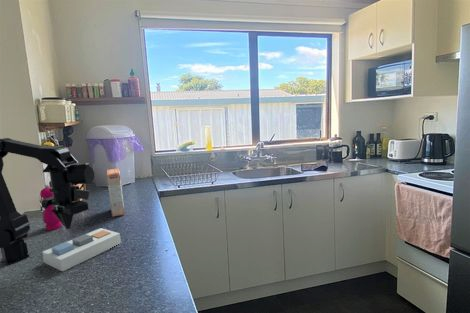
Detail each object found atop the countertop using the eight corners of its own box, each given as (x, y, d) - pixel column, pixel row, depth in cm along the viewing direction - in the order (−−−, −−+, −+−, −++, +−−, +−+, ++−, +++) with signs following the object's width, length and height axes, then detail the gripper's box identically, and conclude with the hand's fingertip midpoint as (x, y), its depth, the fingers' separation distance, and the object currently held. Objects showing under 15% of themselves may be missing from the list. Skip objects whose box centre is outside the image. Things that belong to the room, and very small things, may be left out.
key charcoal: (80, 250, 104) (79, 241, 104) (73, 247, 107) (72, 239, 106) (93, 244, 108) (92, 236, 108) (86, 241, 111) (85, 234, 110)
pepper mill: (54, 231, 130) (47, 186, 127) (40, 230, 132) (32, 186, 128) (67, 224, 137) (60, 182, 134) (53, 224, 139) (46, 182, 135)
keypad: (62, 271, 96) (60, 259, 95) (44, 262, 102) (42, 251, 102) (121, 243, 114) (119, 233, 113) (102, 237, 120) (100, 228, 119)
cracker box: (125, 215, 145) (119, 172, 141) (111, 217, 143) (105, 174, 139) (124, 206, 158) (119, 167, 154) (112, 208, 156) (106, 169, 152)
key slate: (60, 259, 98) (58, 250, 98) (52, 256, 101) (51, 247, 101) (74, 252, 102) (73, 244, 102) (67, 249, 105) (65, 241, 105)
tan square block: (99, 245, 110) (98, 237, 110) (92, 242, 113) (91, 235, 112) (111, 239, 114) (110, 232, 114) (103, 237, 117) (102, 230, 116)
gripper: (100, 181, 102) (106, 224, 105) (69, 176, 112) (75, 216, 115) (68, 189, 93) (75, 237, 95) (37, 184, 103) (44, 227, 105)
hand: (68, 228), depth 103 cm, fingers closed
